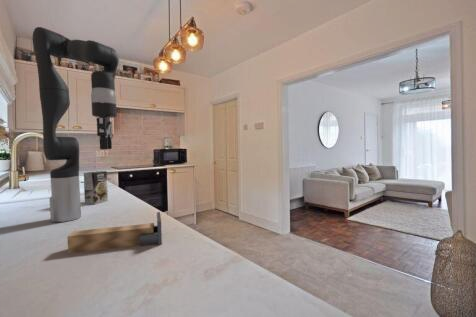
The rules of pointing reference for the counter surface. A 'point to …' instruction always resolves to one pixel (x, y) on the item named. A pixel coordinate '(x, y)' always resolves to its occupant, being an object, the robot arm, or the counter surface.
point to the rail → (107, 237)
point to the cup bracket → (153, 234)
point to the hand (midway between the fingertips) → (106, 149)
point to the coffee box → (95, 187)
